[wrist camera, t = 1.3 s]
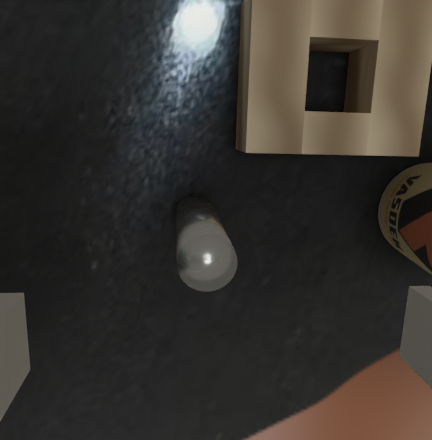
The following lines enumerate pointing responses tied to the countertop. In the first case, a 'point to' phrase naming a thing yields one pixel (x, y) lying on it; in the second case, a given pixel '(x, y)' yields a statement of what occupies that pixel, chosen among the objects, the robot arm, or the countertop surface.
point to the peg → (203, 245)
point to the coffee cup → (409, 214)
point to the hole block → (356, 76)
